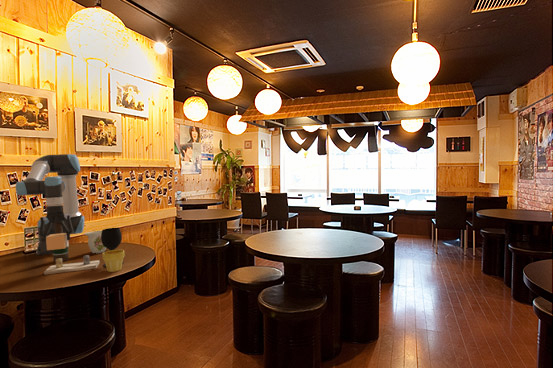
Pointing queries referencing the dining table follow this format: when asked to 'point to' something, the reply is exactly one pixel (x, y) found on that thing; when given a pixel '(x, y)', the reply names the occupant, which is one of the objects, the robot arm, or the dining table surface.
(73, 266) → the post board
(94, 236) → the pitcher
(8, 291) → the dining table surface
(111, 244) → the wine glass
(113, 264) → the plant pot
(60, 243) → the tan block
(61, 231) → the beer bottle
